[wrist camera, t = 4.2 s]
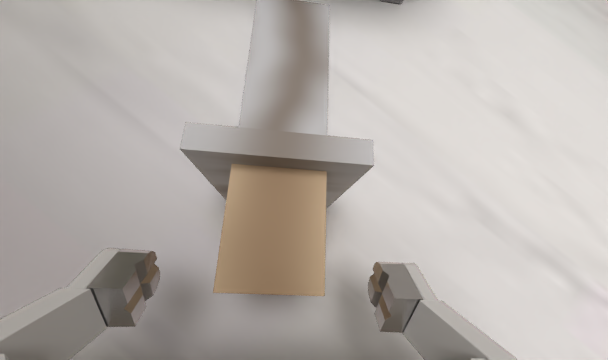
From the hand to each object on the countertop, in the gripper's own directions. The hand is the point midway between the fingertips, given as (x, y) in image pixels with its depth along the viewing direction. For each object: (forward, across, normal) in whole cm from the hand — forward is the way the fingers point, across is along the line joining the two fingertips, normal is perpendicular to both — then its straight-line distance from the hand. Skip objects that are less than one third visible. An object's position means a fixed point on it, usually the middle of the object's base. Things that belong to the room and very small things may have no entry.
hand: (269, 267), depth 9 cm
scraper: (+11, 0, -3) cm, 12 cm away
